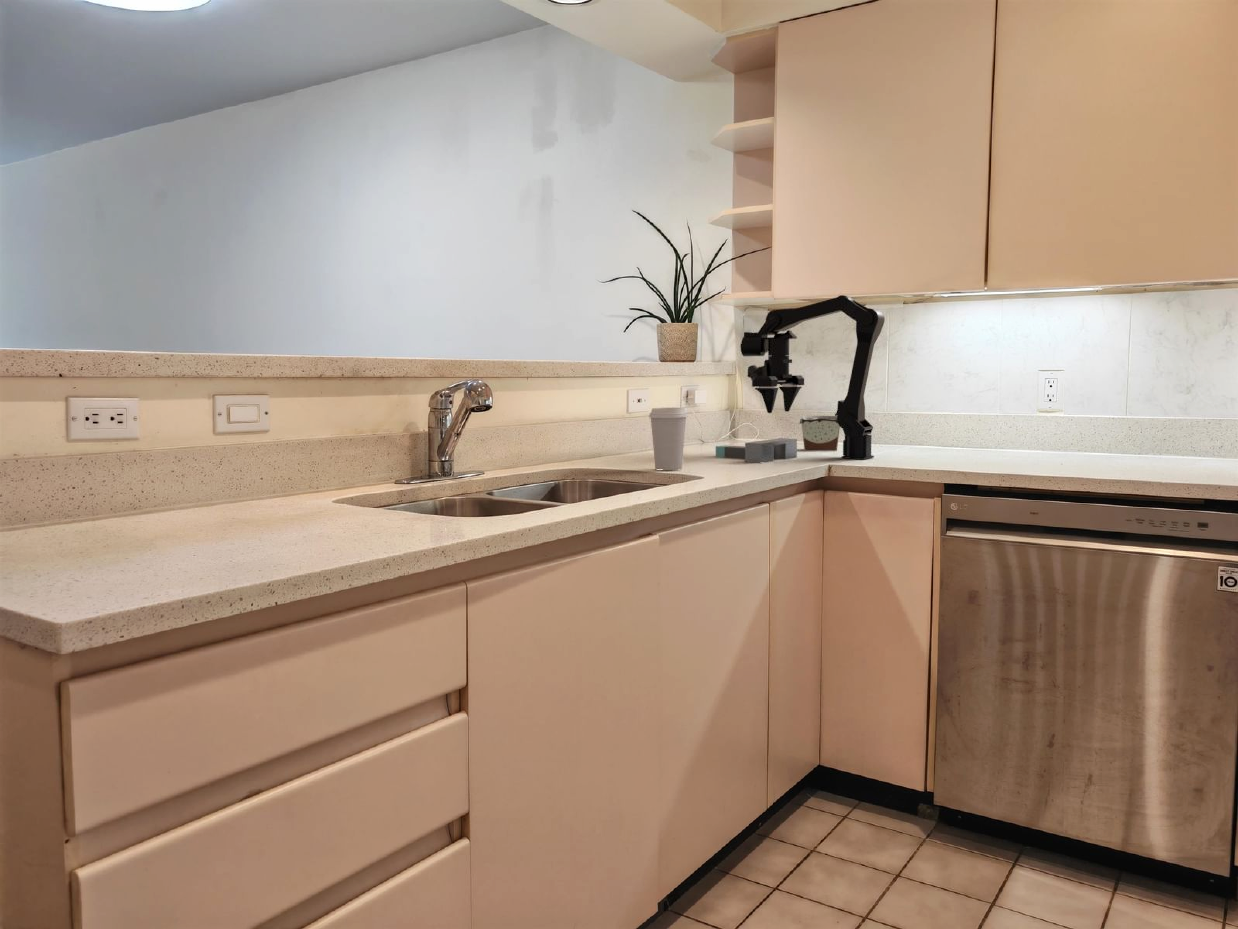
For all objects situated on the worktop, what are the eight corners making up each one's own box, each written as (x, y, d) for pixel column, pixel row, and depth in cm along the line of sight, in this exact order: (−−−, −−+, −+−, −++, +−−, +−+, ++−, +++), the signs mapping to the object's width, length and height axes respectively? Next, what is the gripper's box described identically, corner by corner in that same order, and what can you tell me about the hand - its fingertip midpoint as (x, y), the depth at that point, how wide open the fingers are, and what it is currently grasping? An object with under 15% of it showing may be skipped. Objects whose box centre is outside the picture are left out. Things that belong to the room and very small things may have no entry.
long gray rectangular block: (796, 457, 247) (796, 438, 247) (761, 462, 234) (761, 443, 233) (780, 456, 250) (780, 438, 250) (745, 461, 237) (745, 442, 236)
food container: (839, 449, 269) (839, 415, 268) (842, 450, 263) (842, 416, 262) (797, 449, 271) (797, 415, 270) (799, 451, 264) (799, 416, 263)
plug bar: (763, 458, 246) (763, 447, 245) (755, 459, 243) (755, 448, 242) (724, 455, 254) (724, 445, 254) (715, 457, 251) (715, 446, 251)
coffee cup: (685, 471, 216) (685, 409, 215) (646, 471, 218) (645, 409, 217) (690, 467, 226) (690, 407, 224) (652, 467, 228) (652, 407, 226)
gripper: (771, 356, 262) (770, 410, 264) (735, 356, 248) (735, 413, 250) (805, 355, 255) (804, 411, 257) (770, 355, 241) (770, 414, 243)
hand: (778, 412), depth 252 cm, fingers open, 9 cm apart
